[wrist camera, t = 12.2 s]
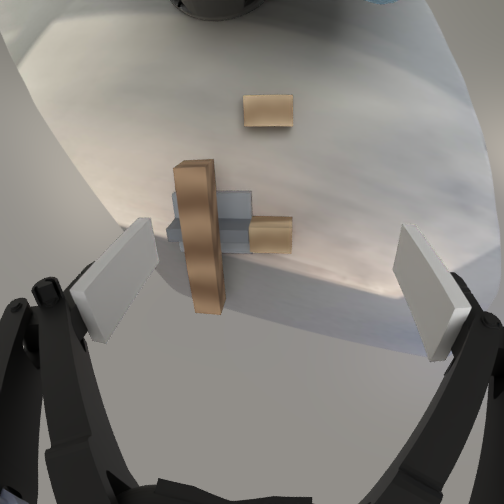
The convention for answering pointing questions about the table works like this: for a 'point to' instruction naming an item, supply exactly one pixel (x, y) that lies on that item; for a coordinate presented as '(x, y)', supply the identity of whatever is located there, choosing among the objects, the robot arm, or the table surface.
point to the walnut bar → (201, 233)
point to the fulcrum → (223, 221)
